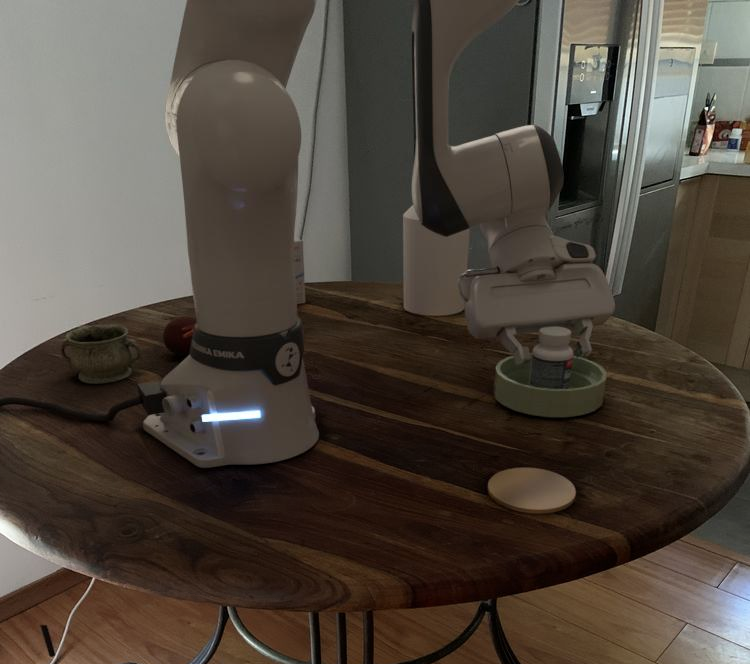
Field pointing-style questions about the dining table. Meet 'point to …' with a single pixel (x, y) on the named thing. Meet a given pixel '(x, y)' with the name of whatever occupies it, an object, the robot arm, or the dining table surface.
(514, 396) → the bowl
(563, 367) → the pill bottle
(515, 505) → the coaster
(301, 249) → the ink box
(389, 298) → the dining table surface
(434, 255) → the bottle
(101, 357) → the vessel
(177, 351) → the red tomato
